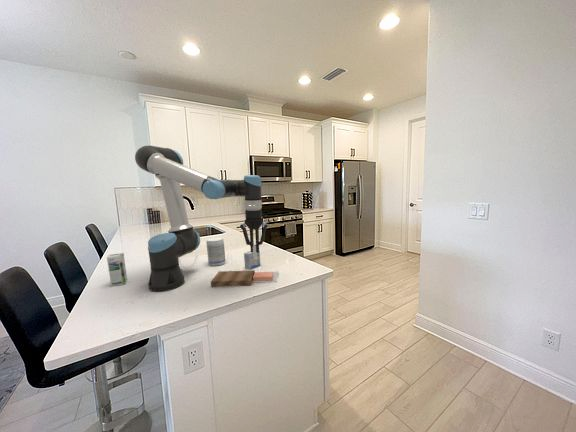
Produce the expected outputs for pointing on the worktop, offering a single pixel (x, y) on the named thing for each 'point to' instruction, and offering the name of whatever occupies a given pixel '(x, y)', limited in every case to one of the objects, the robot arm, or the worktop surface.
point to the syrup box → (117, 269)
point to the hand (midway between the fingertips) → (255, 258)
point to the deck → (233, 278)
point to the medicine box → (251, 260)
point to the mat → (275, 275)
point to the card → (263, 276)
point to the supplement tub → (215, 251)
